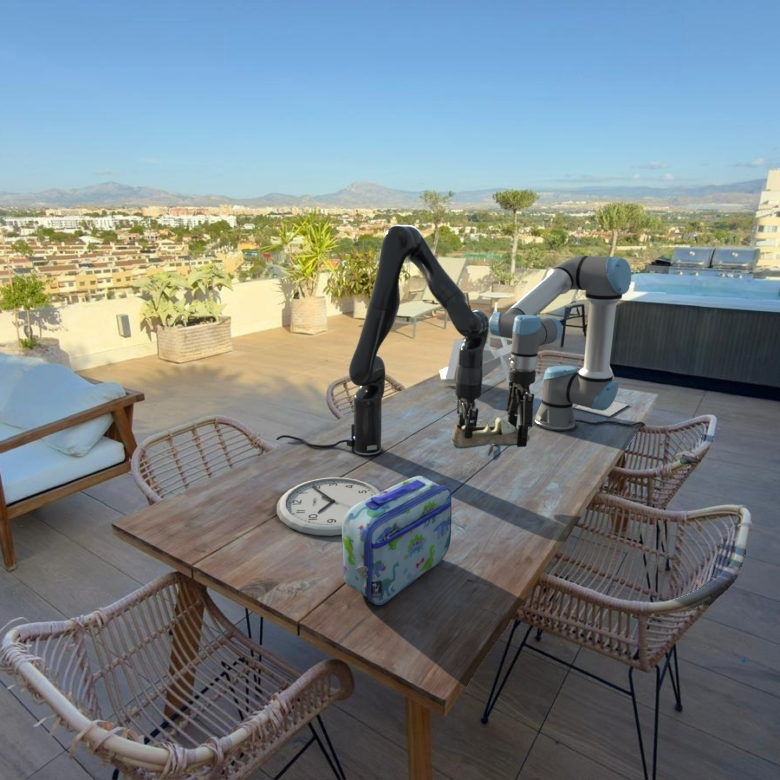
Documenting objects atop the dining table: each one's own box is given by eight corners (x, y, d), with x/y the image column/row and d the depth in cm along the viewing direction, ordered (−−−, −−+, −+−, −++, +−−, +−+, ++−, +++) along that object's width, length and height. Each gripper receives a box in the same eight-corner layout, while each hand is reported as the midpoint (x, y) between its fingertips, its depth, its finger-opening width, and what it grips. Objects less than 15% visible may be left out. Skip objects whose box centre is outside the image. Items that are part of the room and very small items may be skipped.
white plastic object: (461, 429, 252) (437, 405, 227) (444, 352, 274) (420, 323, 250) (535, 404, 240) (518, 377, 215) (510, 326, 262) (492, 293, 237)
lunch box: (371, 618, 102) (371, 524, 95) (336, 591, 109) (334, 502, 103) (455, 562, 119) (460, 479, 113) (420, 542, 126) (423, 463, 120)
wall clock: (392, 527, 129) (268, 531, 127) (391, 533, 130) (269, 537, 127) (383, 473, 158) (282, 475, 155) (383, 478, 158) (282, 480, 156)
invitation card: (608, 416, 214) (573, 407, 224) (608, 416, 214) (573, 408, 224) (628, 404, 229) (594, 396, 238) (628, 405, 229) (594, 397, 238)
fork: (484, 456, 175) (484, 450, 174) (492, 439, 189) (492, 434, 188) (491, 457, 174) (492, 452, 173) (499, 440, 188) (499, 435, 188)
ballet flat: (535, 446, 157) (536, 420, 154) (455, 454, 153) (456, 428, 150) (523, 435, 164) (524, 411, 162) (448, 443, 161) (448, 418, 158)
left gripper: (450, 373, 158) (447, 425, 163) (463, 387, 144) (459, 444, 150) (474, 373, 159) (470, 424, 164) (489, 387, 146) (484, 443, 151)
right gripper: (498, 360, 162) (493, 428, 169) (524, 378, 143) (517, 455, 149) (521, 359, 163) (515, 428, 170) (550, 378, 144) (542, 454, 150)
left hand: (465, 433), depth 157 cm, fingers closed on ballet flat, 5 cm apart
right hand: (516, 440), depth 160 cm, fingers closed on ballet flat, 8 cm apart
